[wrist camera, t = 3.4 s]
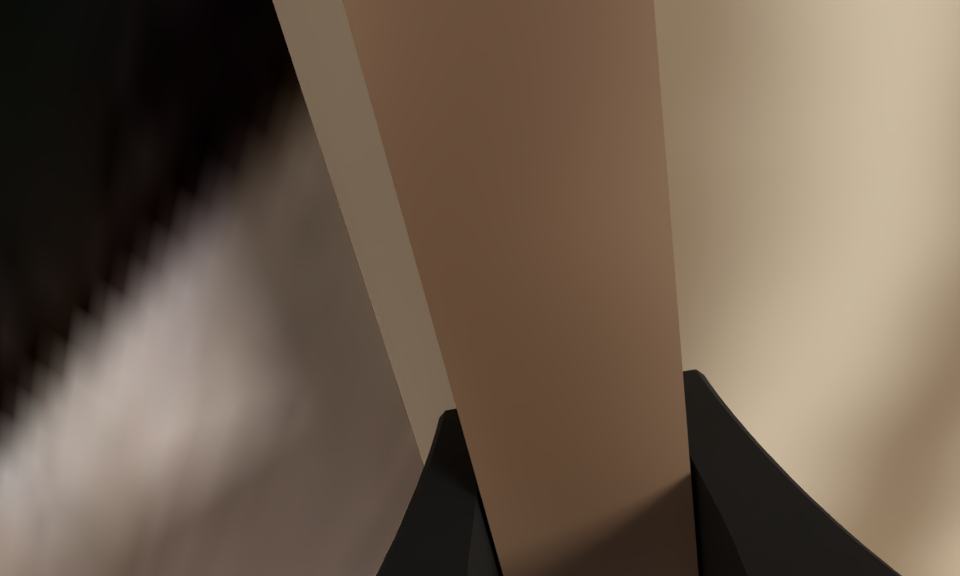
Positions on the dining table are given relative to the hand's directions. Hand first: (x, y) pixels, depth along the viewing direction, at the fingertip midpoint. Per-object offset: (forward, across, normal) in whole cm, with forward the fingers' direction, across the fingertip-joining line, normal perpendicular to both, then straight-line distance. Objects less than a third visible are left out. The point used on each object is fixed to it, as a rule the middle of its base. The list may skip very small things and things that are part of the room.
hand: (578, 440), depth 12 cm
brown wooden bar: (+1, 0, 0) cm, 1 cm away
